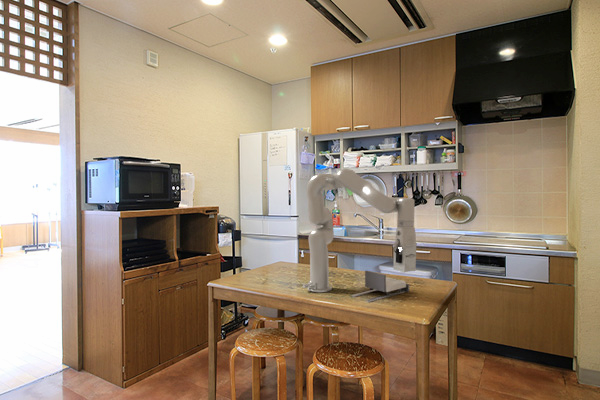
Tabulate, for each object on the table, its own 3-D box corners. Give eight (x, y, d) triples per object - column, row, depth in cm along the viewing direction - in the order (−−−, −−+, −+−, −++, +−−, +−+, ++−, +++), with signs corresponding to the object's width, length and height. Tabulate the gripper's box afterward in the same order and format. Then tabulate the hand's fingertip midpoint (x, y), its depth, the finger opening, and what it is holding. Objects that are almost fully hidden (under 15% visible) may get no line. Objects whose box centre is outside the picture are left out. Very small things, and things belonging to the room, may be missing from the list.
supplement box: (404, 272, 160) (404, 245, 160) (392, 269, 167) (393, 242, 167) (416, 271, 164) (416, 244, 164) (404, 268, 170) (405, 241, 170)
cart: (385, 296, 166) (385, 275, 166) (363, 290, 177) (363, 270, 177) (406, 291, 175) (405, 270, 175) (383, 285, 186) (383, 266, 186)
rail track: (370, 302, 160) (370, 294, 160) (348, 296, 171) (348, 287, 171) (409, 292, 176) (409, 284, 176) (386, 286, 188) (386, 279, 188)
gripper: (400, 225, 157) (399, 265, 157) (423, 224, 167) (422, 261, 168) (386, 224, 163) (386, 262, 163) (410, 222, 173) (409, 258, 174)
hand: (404, 261), depth 165 cm, fingers closed on supplement box, 7 cm apart
